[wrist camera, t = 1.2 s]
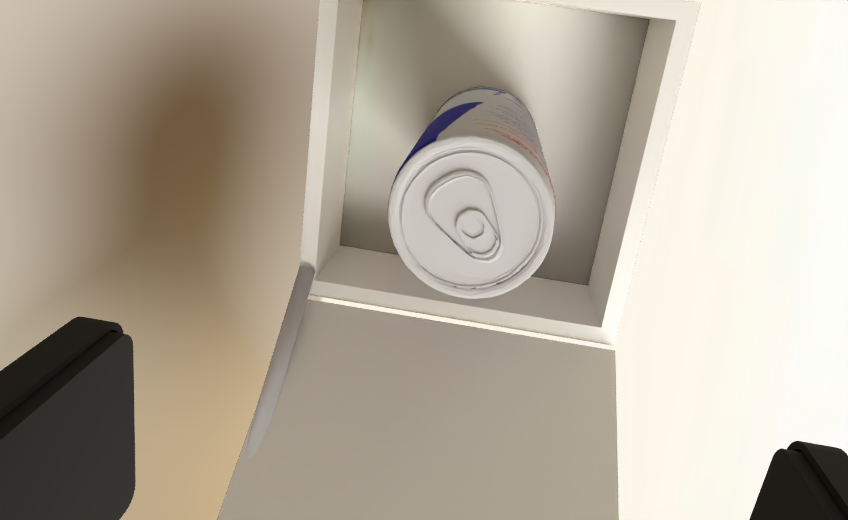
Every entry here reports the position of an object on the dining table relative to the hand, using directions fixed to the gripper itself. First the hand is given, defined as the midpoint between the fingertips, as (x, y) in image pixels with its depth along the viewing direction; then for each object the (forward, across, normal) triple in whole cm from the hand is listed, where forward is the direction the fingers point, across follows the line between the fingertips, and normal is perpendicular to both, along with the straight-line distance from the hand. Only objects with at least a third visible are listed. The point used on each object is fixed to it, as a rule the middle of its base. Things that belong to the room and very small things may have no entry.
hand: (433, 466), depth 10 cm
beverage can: (+28, 0, 0) cm, 28 cm away
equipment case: (+28, 0, +4) cm, 28 cm away
